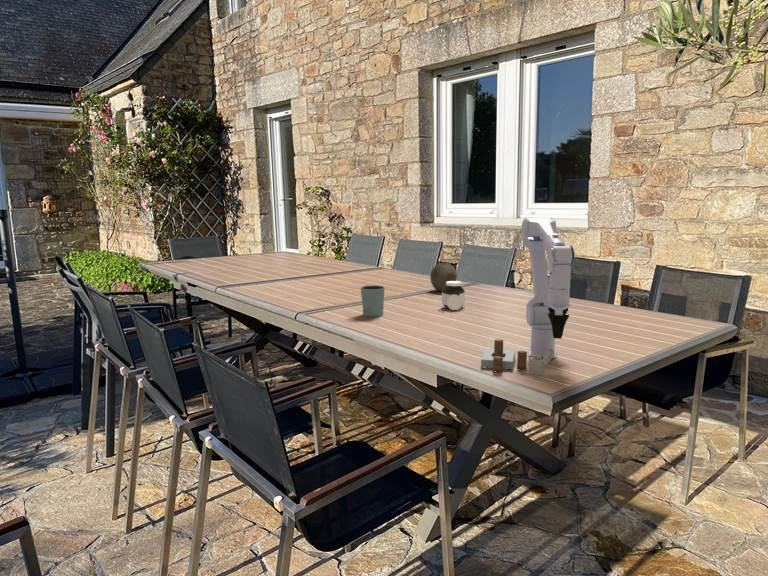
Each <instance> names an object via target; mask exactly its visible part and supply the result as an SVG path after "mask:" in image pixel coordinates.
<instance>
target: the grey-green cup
mask: <svg viewBox="0 0 768 576" xmlns="http://www.w3.org/2000/svg"><path fill="white" fill-rule="evenodd" d="M385 289H386V287H385V286H383V285H376V284H375V285H373V284H372V285H364V286H361V287H360V295H361V303H362V304H361V305H362V314H363V316H364V317H366V316H369V317H368V318H377V317H376V316H379V317H383V316H384V307H385V306H384V304H385Z"/></svg>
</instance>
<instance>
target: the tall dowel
mask: <svg viewBox="0 0 768 576" xmlns="http://www.w3.org/2000/svg"><path fill="white" fill-rule="evenodd" d="M493 343H494V347H493V349H494V357H495V356H499V357H503V350H504V340H503V339H500V338H499V339H494V341H493Z"/></svg>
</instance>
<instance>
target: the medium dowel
mask: <svg viewBox="0 0 768 576" xmlns="http://www.w3.org/2000/svg"><path fill="white" fill-rule="evenodd" d="M527 358H528V351H525V350H518V351H517V358H516V359H517V361H516V363H517V364H516V369H517V370H518V369H520V370H519V371H526V370H527V364H528V363H527V362H528V359H527Z"/></svg>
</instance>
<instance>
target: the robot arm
mask: <svg viewBox="0 0 768 576" xmlns="http://www.w3.org/2000/svg"><path fill="white" fill-rule="evenodd" d="M556 232H557V222H556V220H555V219H554V218H553V217H549V218H546V217H545V218H543V217H541V218H540V217H537V218H533V217H532V218H531V217H530V218H529V217H525V218H524V219H523V220H522V223H521V237H522V245H523V246H524V247H525V248H526V249H528V252H529V258H530V266H531V267H530V268H531V275H532V276H531V278H532V287H533V297H532V298H531V299H529V301H527V304H526V306H525V307H526V313H525V314H526V315H525V316H526V323H527V324H528V326H530V327H531V330H530V331H531V332H530V347H529V352H528V357H529V358H531V357H533V355H539V356H541V358H544V356H545V354H546V352H547V350H548V349H553V350H554V351H555V352H554V354H553V356H552V358H551V359H556V357H557V356H556V355H557V354H556V349H555V347H556V346H555V345H556V339H562V338H563V334H564V330H565V325H566V323H567V321H568V319H569V318H570V314H567V313H568V312H569V308H570V307H571V304H570V292H571V291H570V290H571V273H572V271H571V270H572V267H573V266H574V264H575V259H576V258H575V257H576V256H575V254H576V253H575V248H574V247H573V245H571V244H570V245H567V244H566V243H565V241H564V240H563V238H562V236H561V235H560V234H558V233H556ZM546 255H547V256H546ZM546 259H547V260H546ZM548 273H549V274H548ZM548 276H549V277H548Z"/></svg>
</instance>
